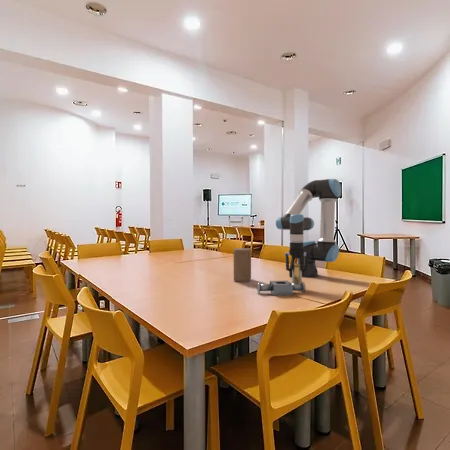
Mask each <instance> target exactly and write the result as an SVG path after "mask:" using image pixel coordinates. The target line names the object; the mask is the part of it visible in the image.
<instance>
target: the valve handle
mask: <svg viewBox="0 0 450 450" xmlns="http://www.w3.org/2000/svg"><path fill="white" fill-rule="evenodd" d="M300 266H301V264H299V263H298V262H294V266H293V272H294V284H301V283H300Z"/></svg>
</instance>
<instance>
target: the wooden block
mask: <svg viewBox="0 0 450 450" xmlns="http://www.w3.org/2000/svg"><path fill="white" fill-rule="evenodd" d="M251 279H252V248H249V247H248V248H246V247H244V248H243V247H237V248H235V249H233V282H239V283H241V282H242V283H245V282H246V283H249V282H250V281H251Z"/></svg>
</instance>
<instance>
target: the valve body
mask: <svg viewBox="0 0 450 450" xmlns="http://www.w3.org/2000/svg"><path fill="white" fill-rule="evenodd" d="M256 289H257V291H256V292H257V293H258V294H259V293H261V292H270V293H271V294H272V295H273V296H274V297H277V296H282V297H283V296H293V294H294V293H293V292H295V291H298V292H299V291H300V292H302V293H305V292H306V283H305V282H304V281H302V282H301V283H300V284H292V283H291V281H289V280H269V283H268V284H267V283H264V284H263V283H262V284H260V282H257V285H256Z"/></svg>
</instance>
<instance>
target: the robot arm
mask: <svg viewBox="0 0 450 450" xmlns="http://www.w3.org/2000/svg"><path fill="white" fill-rule="evenodd" d="M341 194H342V186H341V183H340V182H339V180H338V179H336V178H327V179H317V180H316V179H314V180H312V181H309V182H308V183H307V184H305V185H304V186H303V187H302V188H301V189H300V190H299V192H298V195H297V197H296V198H295V200H294V201H293V203H292V204H291V206H289V208H288V209H287V211H286V213H284V215H283V216H280V217H277V218H276V220H275V226H276V228H277V229H278V230H283V231H284V230H286V231H287V230H289V250H288V252H284V257H285V270H286V271H287V272H288V273H289V274H288V275H289V278H290V283H291V284H294V272H293V266H294V263H295V260H296V259H297V263H299V264H301V266H300V284H301V282H303V278H304V277H306V278H311V277H312V278H313V277H314V276H315V277H318V276H317V275H319V271H318V268H317V265H316V262H317V261H318V262H325V263H334V262H336V260H337V259H338V257H339V253H340V248H339V245H338V244H337V242H336V240H335V239H334V237H335V236H334V235H335V210H336V209H335V208H336V202H337V201H338V198H340V197H341V196H342V195H341ZM314 198H318V201H319V202H320V221H319V222H320V225H319V239H317V241H315V240H310V241H309V240H308V241H307V240H306V241H304V231H311V230H312V229H313V228H314V227H315V222H314V221H315V220H313V218H312V217H309V216H308V217H307V216H306V217H304V215H303V214H301V213H302V211H303V210H304V209H305V208H306V206H307V204H308V203H309V202H310V201H312V200H313V199H314ZM316 242H317V243H316ZM290 256H291V259H290Z"/></svg>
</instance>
